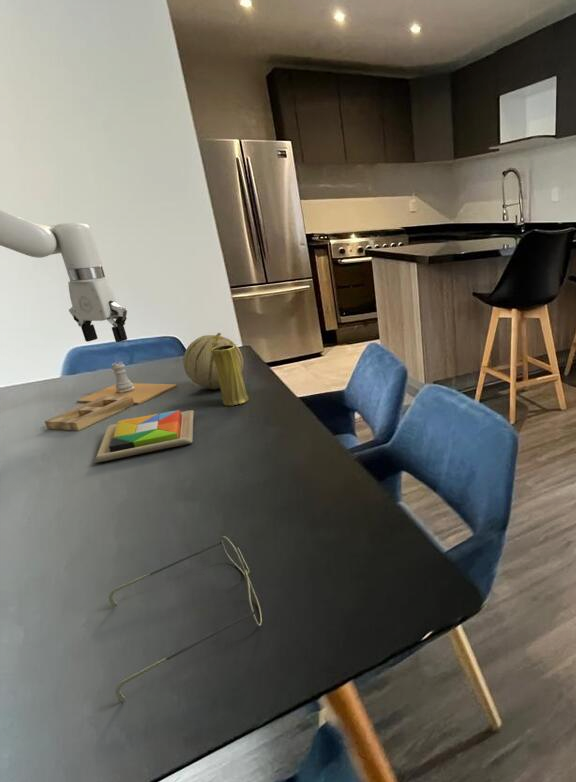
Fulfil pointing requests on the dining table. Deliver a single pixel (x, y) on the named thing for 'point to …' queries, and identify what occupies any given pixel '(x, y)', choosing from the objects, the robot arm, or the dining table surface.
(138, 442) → the wooden puzzle
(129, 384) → the rook chess piece
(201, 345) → the cantaloupe
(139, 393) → the cork mat
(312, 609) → the dining table surface
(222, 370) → the vase
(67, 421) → the holder
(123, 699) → the eyeglasses
